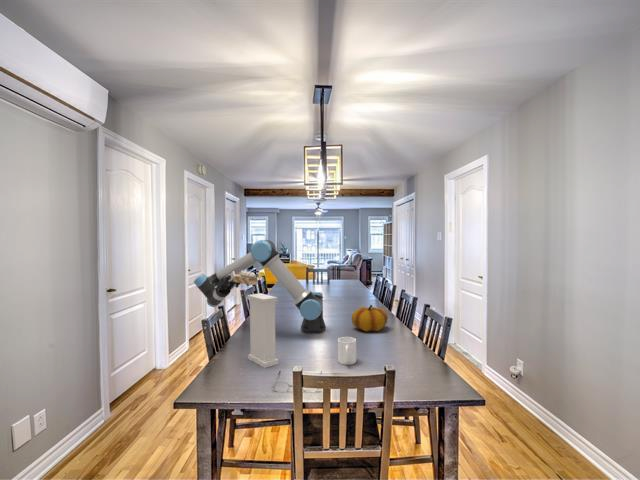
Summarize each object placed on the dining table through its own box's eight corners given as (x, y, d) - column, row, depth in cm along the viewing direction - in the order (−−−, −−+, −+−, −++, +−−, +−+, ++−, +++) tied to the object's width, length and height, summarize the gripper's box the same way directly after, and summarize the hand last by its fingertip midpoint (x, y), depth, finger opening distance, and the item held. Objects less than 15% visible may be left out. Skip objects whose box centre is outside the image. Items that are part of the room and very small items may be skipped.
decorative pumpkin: (370, 323, 226) (369, 299, 226) (395, 330, 207) (394, 305, 207) (345, 328, 215) (345, 303, 215) (369, 336, 196) (368, 310, 196)
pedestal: (278, 363, 157) (277, 297, 156) (264, 367, 152) (263, 299, 152) (261, 355, 168) (260, 293, 168) (248, 358, 164) (247, 295, 163)
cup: (356, 358, 162) (355, 336, 162) (356, 368, 150) (356, 345, 150) (338, 358, 163) (338, 336, 163) (337, 368, 151) (337, 344, 151)
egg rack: (257, 284, 167) (257, 272, 167) (250, 285, 164) (249, 272, 164) (234, 279, 185) (234, 268, 185) (227, 280, 183) (227, 269, 182)
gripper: (237, 295, 197) (255, 278, 182) (208, 299, 186) (224, 281, 171) (234, 283, 200) (251, 265, 184) (205, 286, 189) (220, 267, 173)
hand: (238, 273), depth 178 cm, fingers closed on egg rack, 4 cm apart
